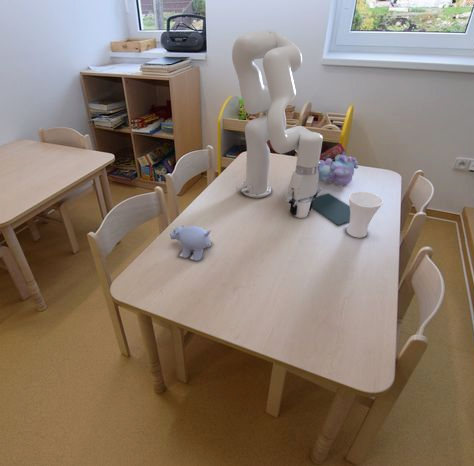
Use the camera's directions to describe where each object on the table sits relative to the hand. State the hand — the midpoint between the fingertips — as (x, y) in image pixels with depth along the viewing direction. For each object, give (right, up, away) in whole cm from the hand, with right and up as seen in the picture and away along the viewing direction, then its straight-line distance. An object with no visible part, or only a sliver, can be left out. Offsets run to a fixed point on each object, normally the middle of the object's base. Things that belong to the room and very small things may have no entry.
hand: (300, 211), depth 127 cm
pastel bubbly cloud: (+20, +16, +24) cm, 35 cm away
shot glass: (0, -1, +1) cm, 2 cm away
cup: (+17, -8, -11) cm, 22 cm away
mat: (+14, +1, +3) cm, 14 cm away
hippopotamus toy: (-41, -14, -14) cm, 46 cm away
